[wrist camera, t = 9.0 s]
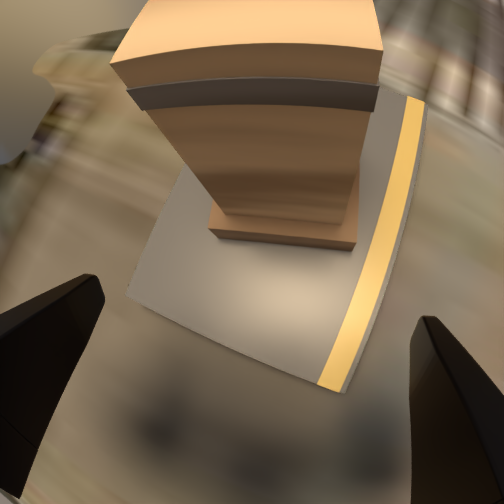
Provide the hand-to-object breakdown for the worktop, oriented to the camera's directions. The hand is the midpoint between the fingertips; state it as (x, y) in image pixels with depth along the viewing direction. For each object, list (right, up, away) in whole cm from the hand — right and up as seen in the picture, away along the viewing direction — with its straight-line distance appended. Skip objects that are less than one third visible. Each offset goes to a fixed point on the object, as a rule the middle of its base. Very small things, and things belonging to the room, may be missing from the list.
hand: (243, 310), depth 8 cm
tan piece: (+2, +5, +9) cm, 11 cm away
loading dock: (+3, +4, +11) cm, 12 cm away
